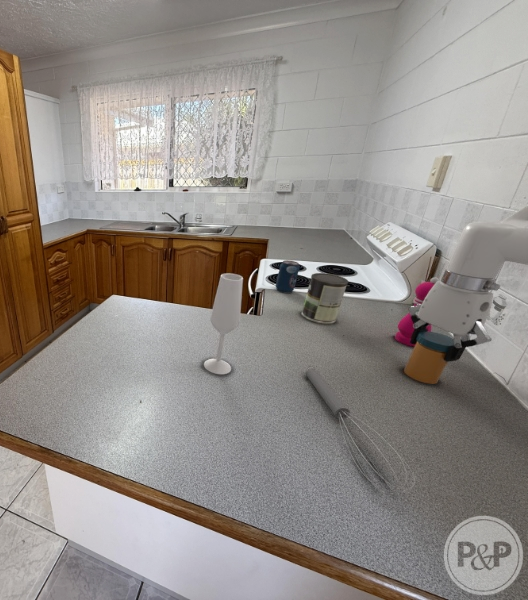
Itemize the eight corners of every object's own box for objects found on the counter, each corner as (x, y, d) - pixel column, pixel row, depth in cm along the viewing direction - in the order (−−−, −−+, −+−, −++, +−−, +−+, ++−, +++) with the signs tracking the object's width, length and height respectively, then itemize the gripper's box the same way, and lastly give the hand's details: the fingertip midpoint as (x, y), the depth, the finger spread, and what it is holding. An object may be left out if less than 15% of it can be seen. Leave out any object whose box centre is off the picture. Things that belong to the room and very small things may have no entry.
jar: (429, 370, 79) (445, 336, 75) (443, 386, 73) (462, 350, 69) (399, 365, 81) (413, 332, 77) (411, 380, 75) (427, 345, 71)
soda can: (292, 294, 124) (299, 266, 119) (273, 291, 127) (279, 262, 123) (294, 289, 129) (301, 261, 125) (276, 286, 133) (282, 258, 128)
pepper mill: (421, 339, 93) (450, 276, 85) (426, 350, 88) (458, 284, 80) (391, 332, 97) (416, 271, 89) (394, 343, 91) (421, 278, 83)
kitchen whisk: (319, 372, 77) (326, 351, 75) (415, 510, 47) (432, 482, 44) (293, 370, 78) (299, 348, 75) (371, 505, 47) (385, 476, 45)
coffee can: (296, 316, 106) (307, 277, 100) (307, 307, 113) (317, 270, 107) (330, 327, 99) (343, 286, 94) (339, 317, 106) (352, 278, 100)
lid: (410, 335, 77) (412, 329, 77) (444, 339, 75) (447, 333, 75) (425, 349, 71) (428, 343, 71) (463, 355, 69) (466, 348, 69)
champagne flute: (223, 378, 75) (239, 284, 65) (198, 366, 79) (210, 276, 69) (235, 366, 79) (252, 276, 69) (212, 355, 83) (224, 270, 74)
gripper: (533, 295, 60) (489, 371, 67) (435, 268, 75) (407, 332, 83) (505, 298, 58) (462, 375, 66) (410, 269, 74) (384, 334, 81)
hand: (432, 350), depth 74 cm, fingers closed on lid, 6 cm apart
